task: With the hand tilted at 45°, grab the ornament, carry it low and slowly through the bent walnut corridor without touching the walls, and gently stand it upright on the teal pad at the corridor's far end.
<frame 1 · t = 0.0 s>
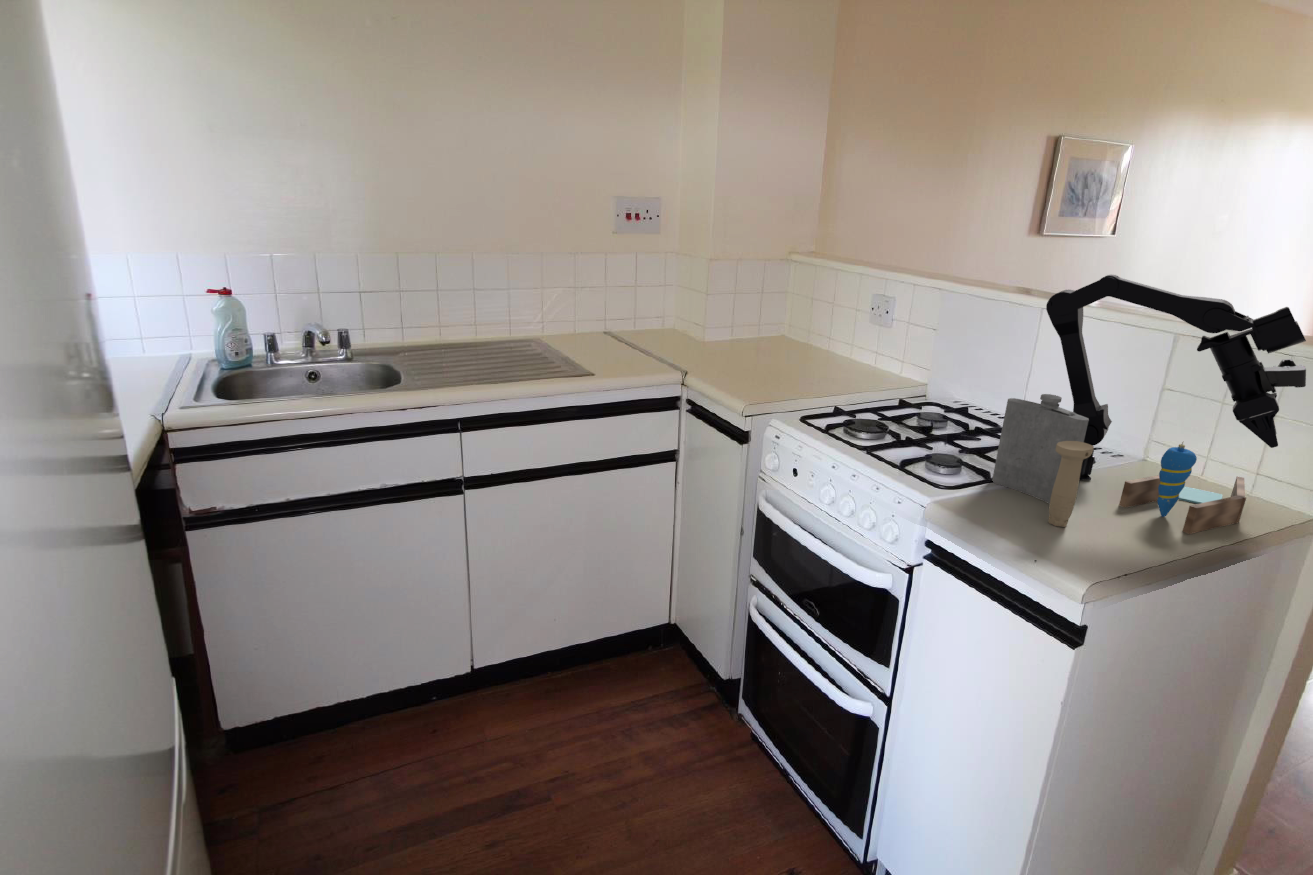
hand: (1274, 440, 140), 15 cm above the countertop, tool tilted 35°, fingers open, 9 cm apart
channel: (1194, 510, 146), on the countertop
ornament: (1162, 517, 142), on the countertop
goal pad: (1196, 496, 152), on the countertop
hip flask: (1030, 493, 151), on the countertop
handle: (1057, 524, 137), on the countertop
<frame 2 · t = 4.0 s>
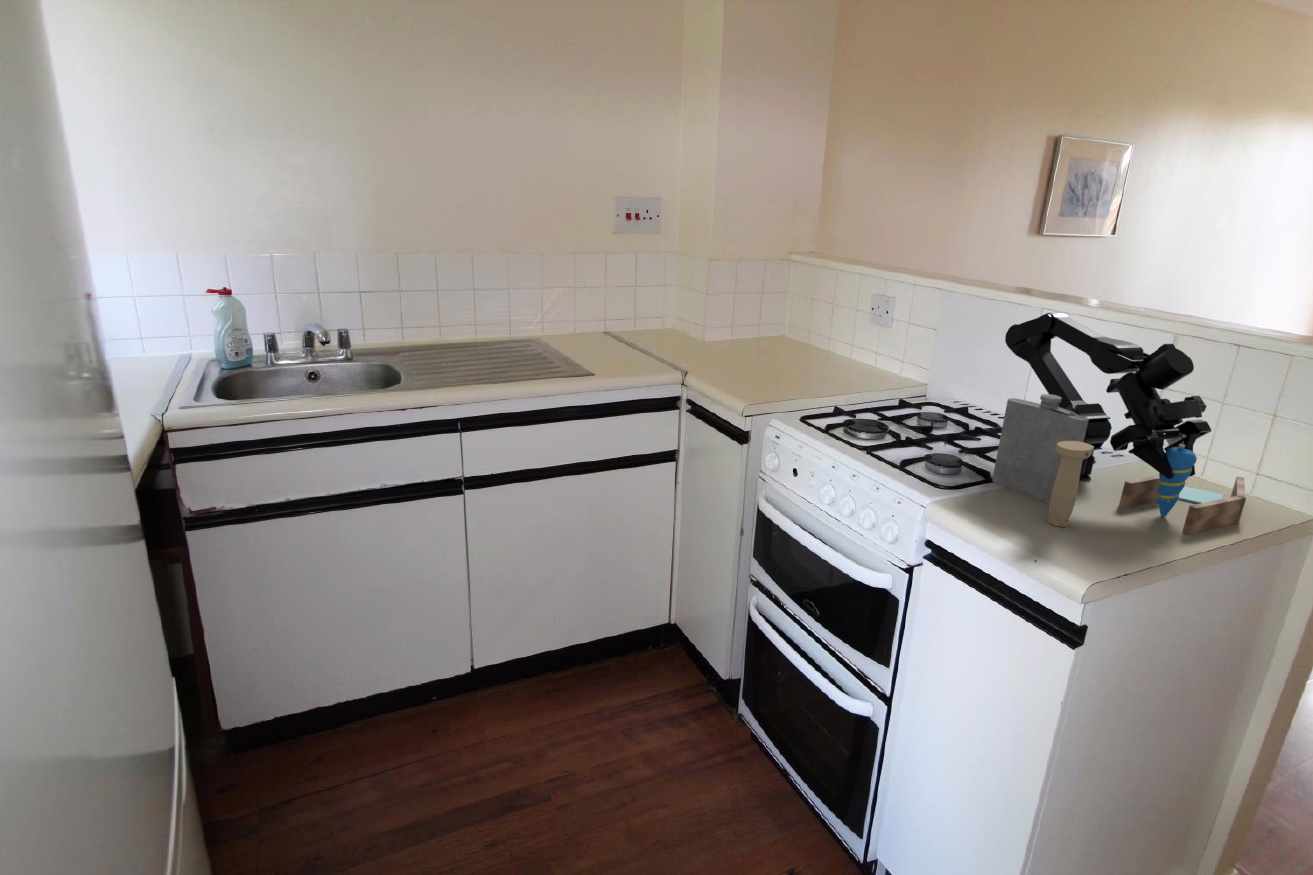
hand: (1181, 476, 138), 9 cm above the countertop, tool tilted 45°, fingers closed on ornament, 5 cm apart
ornament: (1162, 517, 142), on the countertop, touching gripper
everything else where it was.
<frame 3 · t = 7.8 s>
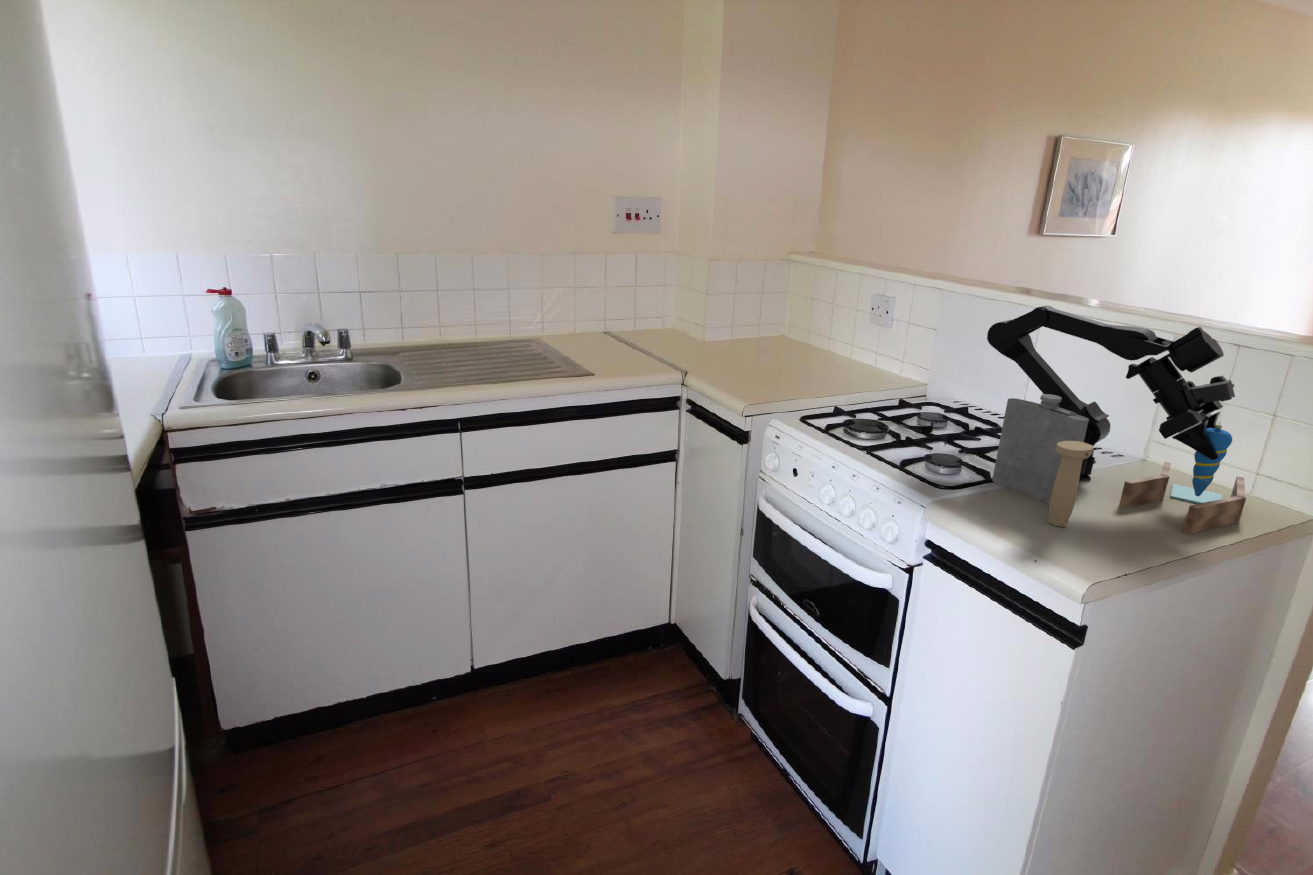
hand: (1219, 455, 142), 11 cm above the countertop, tool tilted 45°, fingers closed on ornament, 5 cm apart
ornament: (1197, 497, 145), point 2 cm above the countertop, touching gripper
everything else where it was.
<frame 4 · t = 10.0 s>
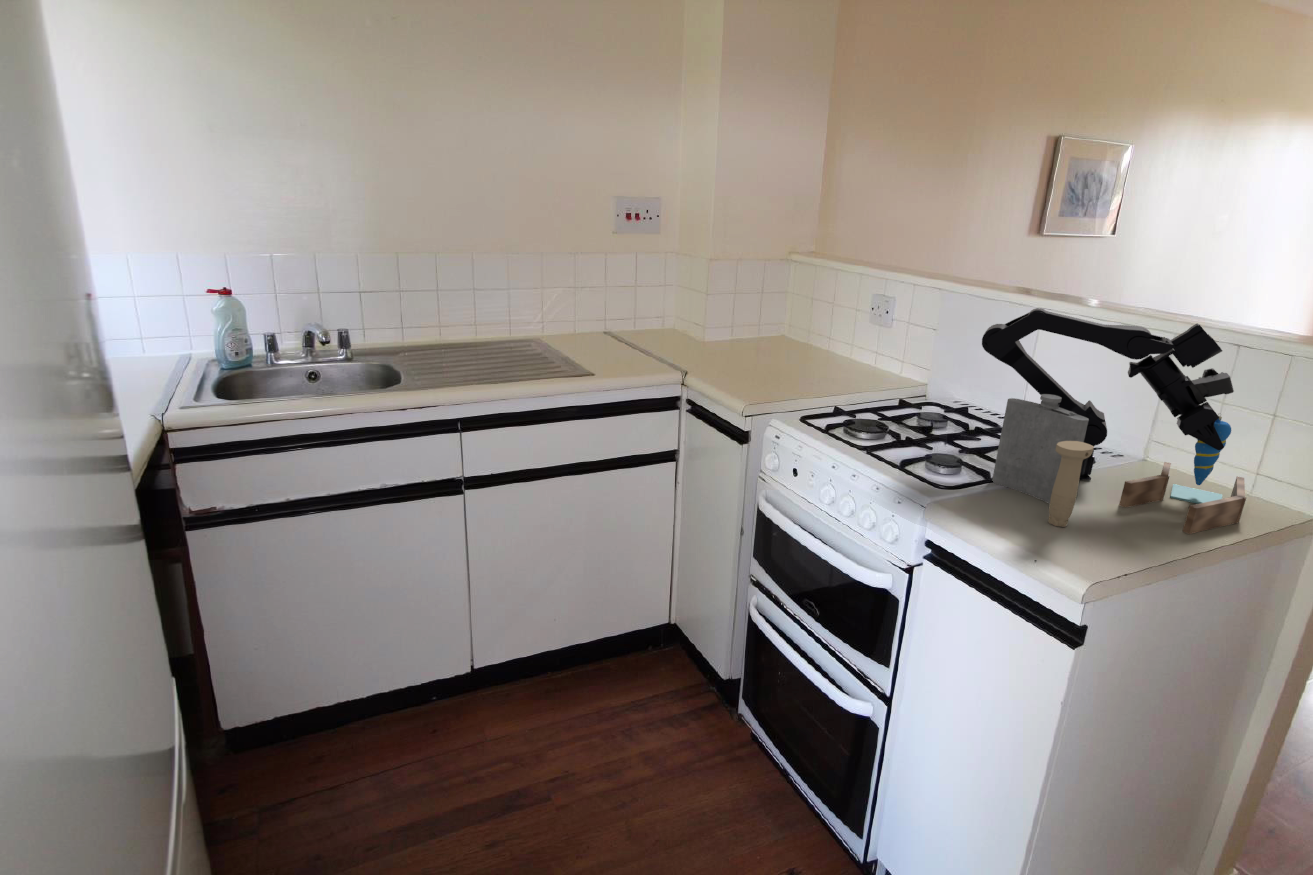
hand: (1219, 445, 148), 11 cm above the countertop, tool tilted 45°, fingers closed on ornament, 5 cm apart
ornament: (1198, 486, 151), point 2 cm above the countertop, touching gripper
everything else where it was.
when the fingers open (9 cm above the countertop, at t = 11.7 s): ornament stays where it is, resting on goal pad.
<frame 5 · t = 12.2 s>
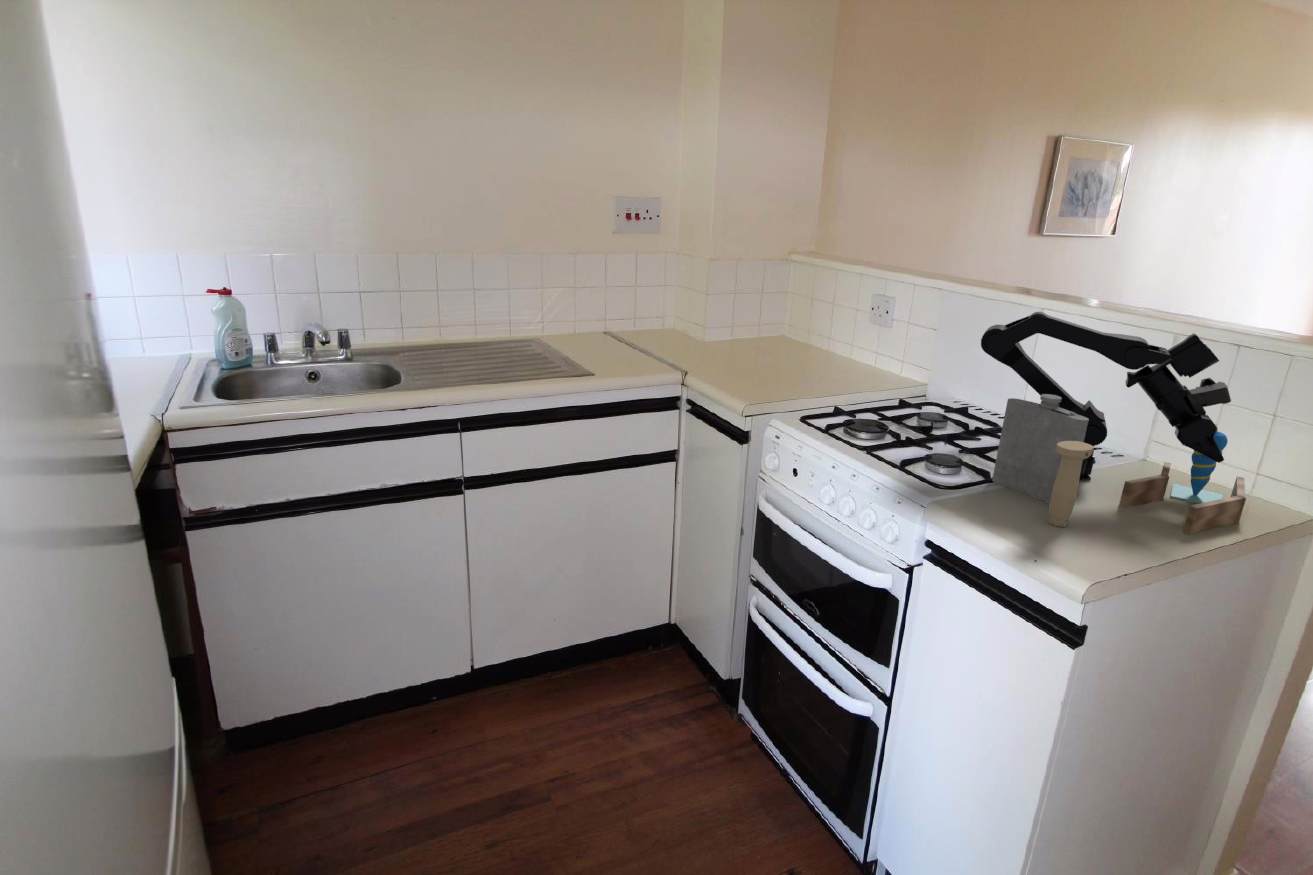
hand: (1217, 454, 149), 9 cm above the countertop, tool tilted 45°, fingers open, 9 cm apart
ornament: (1195, 496, 152), resting on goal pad
everything else where it was.
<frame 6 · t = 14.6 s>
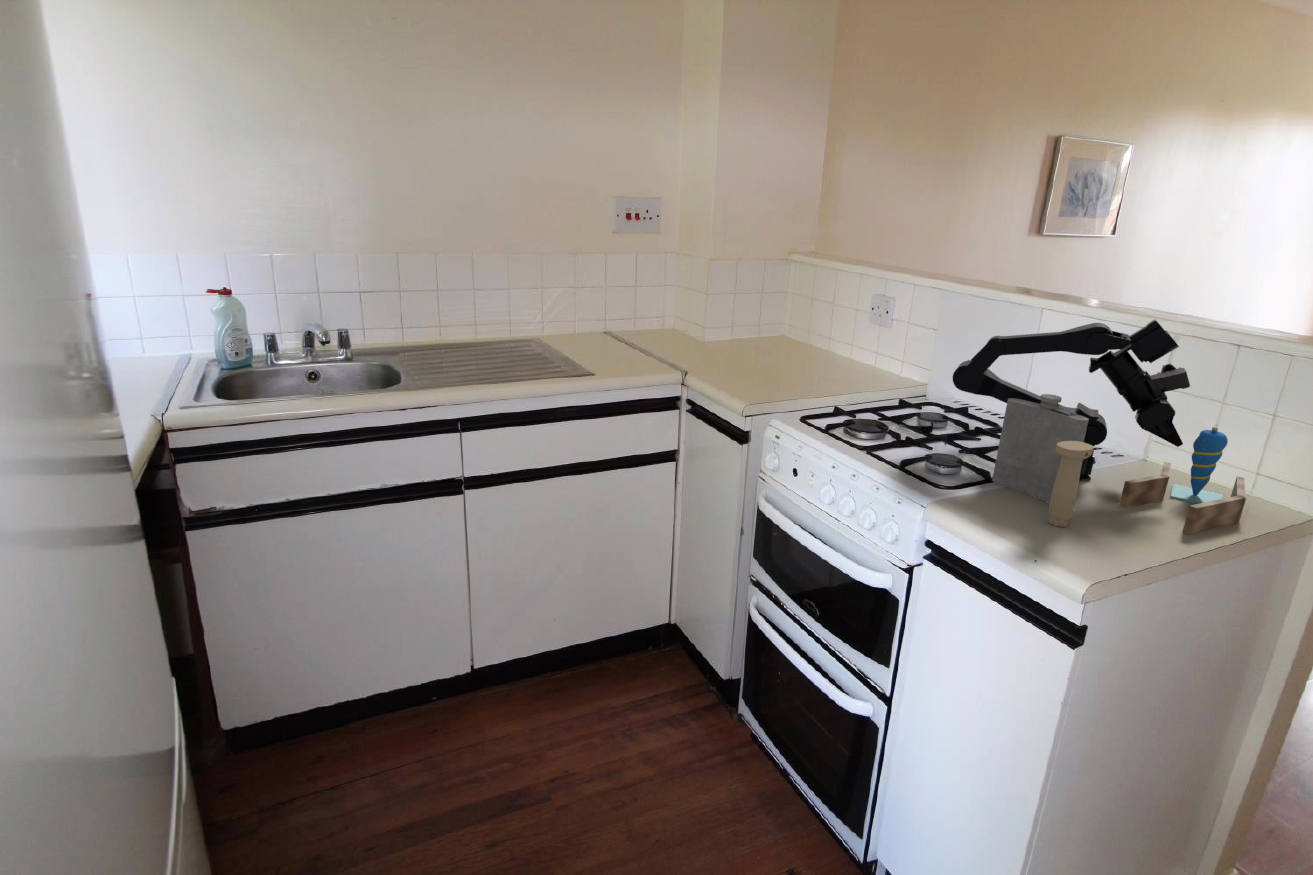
hand: (1177, 439, 151), 11 cm above the countertop, tool tilted 45°, fingers open, 9 cm apart
nothing on the countertop moved.
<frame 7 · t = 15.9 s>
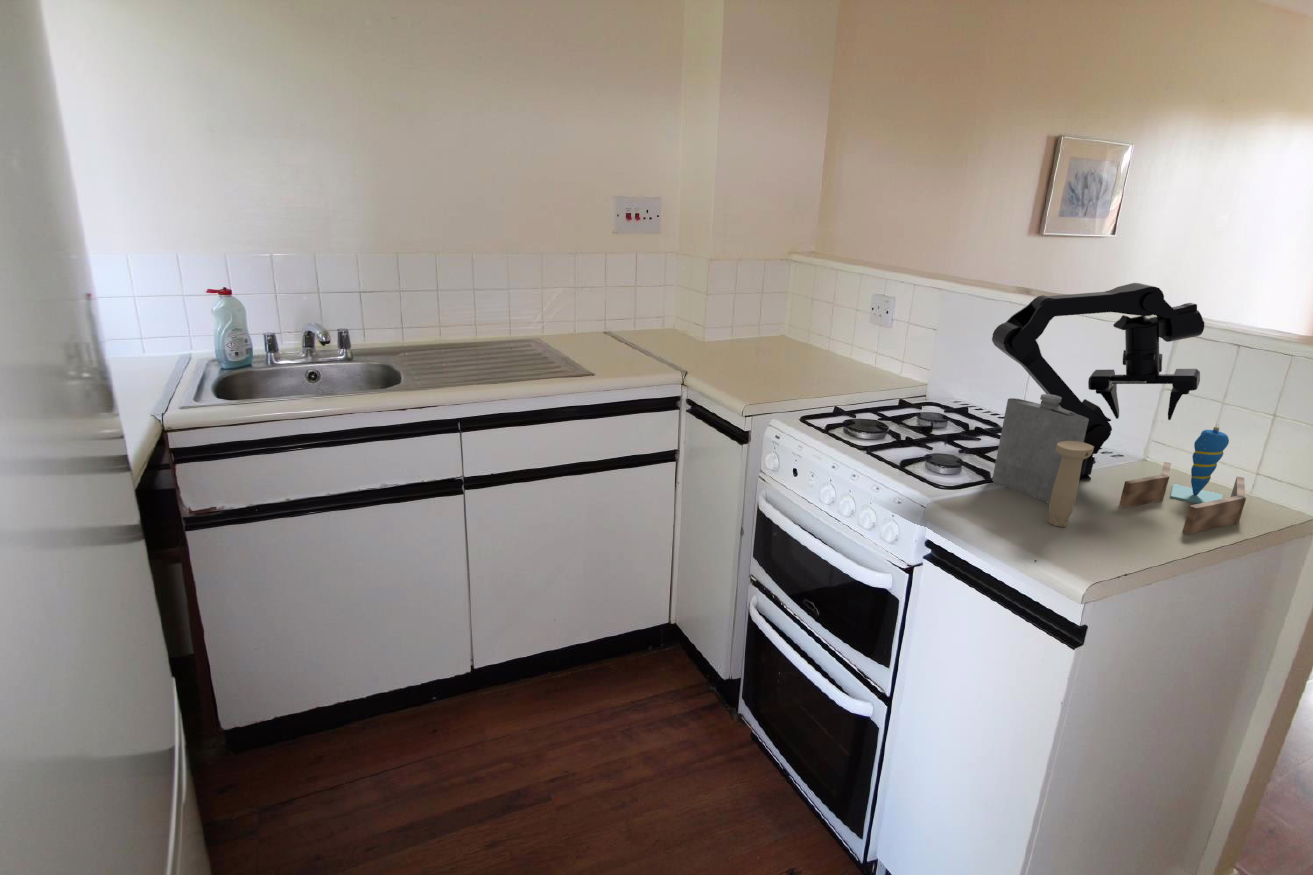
hand: (1143, 418, 158), 13 cm above the countertop, tool pointing down, fingers open, 9 cm apart
nothing on the countertop moved.
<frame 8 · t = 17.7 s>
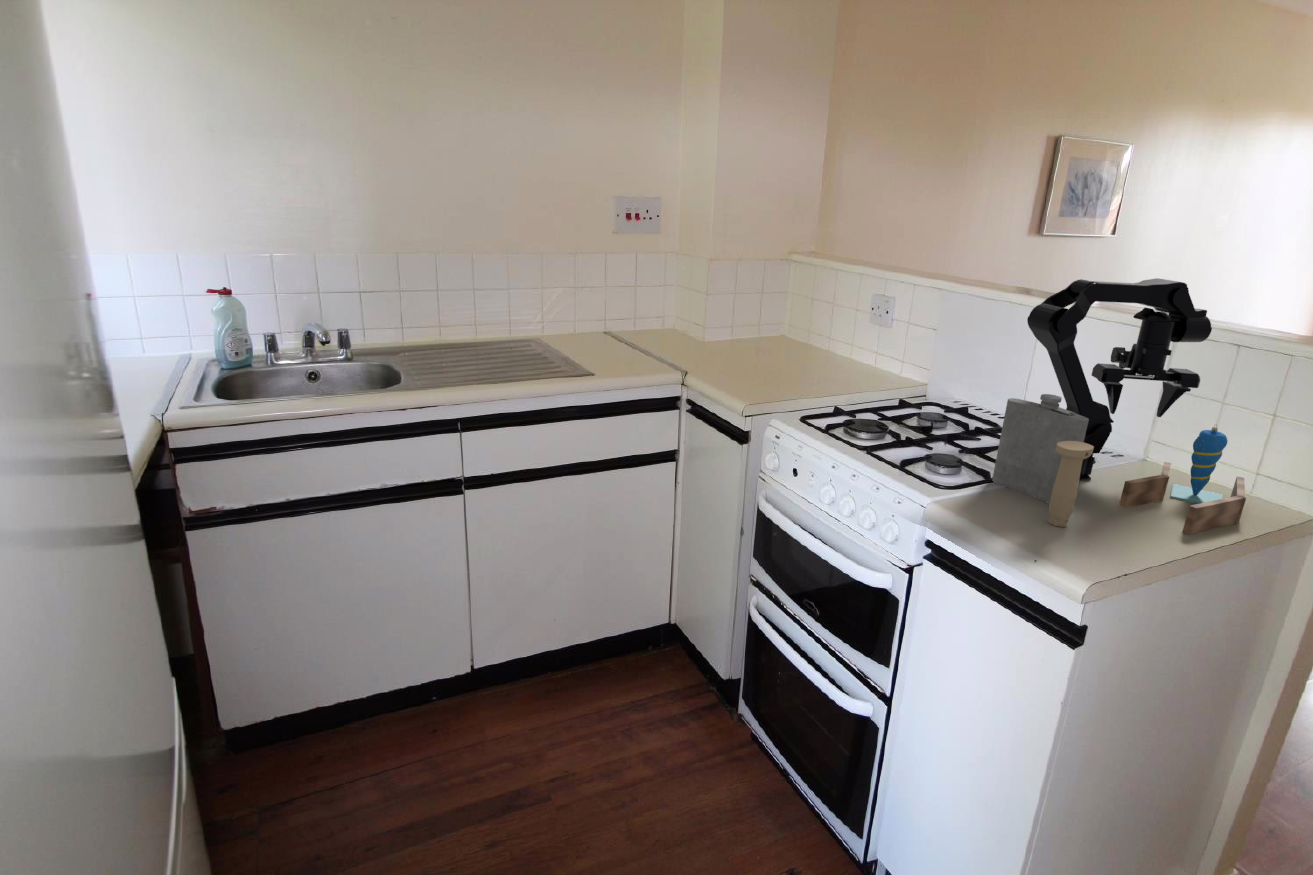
hand: (1135, 415, 160), 13 cm above the countertop, tool pointing down, fingers open, 9 cm apart
nothing on the countertop moved.
at the end: ornament 0.4 cm off-centre on the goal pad, point 0.2 cm above the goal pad's base; ornament tilted 1°; ornament touching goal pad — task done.
